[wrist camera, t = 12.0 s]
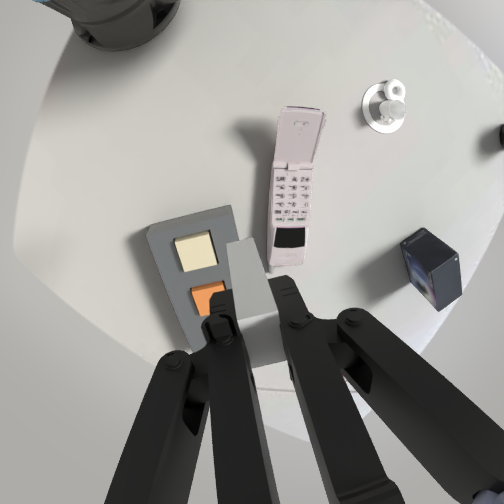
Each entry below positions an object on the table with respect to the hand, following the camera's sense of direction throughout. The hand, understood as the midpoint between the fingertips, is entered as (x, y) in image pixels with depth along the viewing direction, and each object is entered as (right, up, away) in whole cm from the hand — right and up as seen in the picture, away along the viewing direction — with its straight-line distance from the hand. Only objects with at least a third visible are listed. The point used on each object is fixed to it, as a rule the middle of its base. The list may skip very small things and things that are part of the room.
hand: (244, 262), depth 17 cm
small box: (+32, 0, +35) cm, 47 cm away
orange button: (-6, -5, +31) cm, 32 cm away
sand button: (-8, +2, +27) cm, 28 cm away
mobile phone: (+5, +9, +27) cm, 29 cm away
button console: (-6, -5, +31) cm, 32 cm away
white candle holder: (+23, +23, +23) cm, 40 cm away
